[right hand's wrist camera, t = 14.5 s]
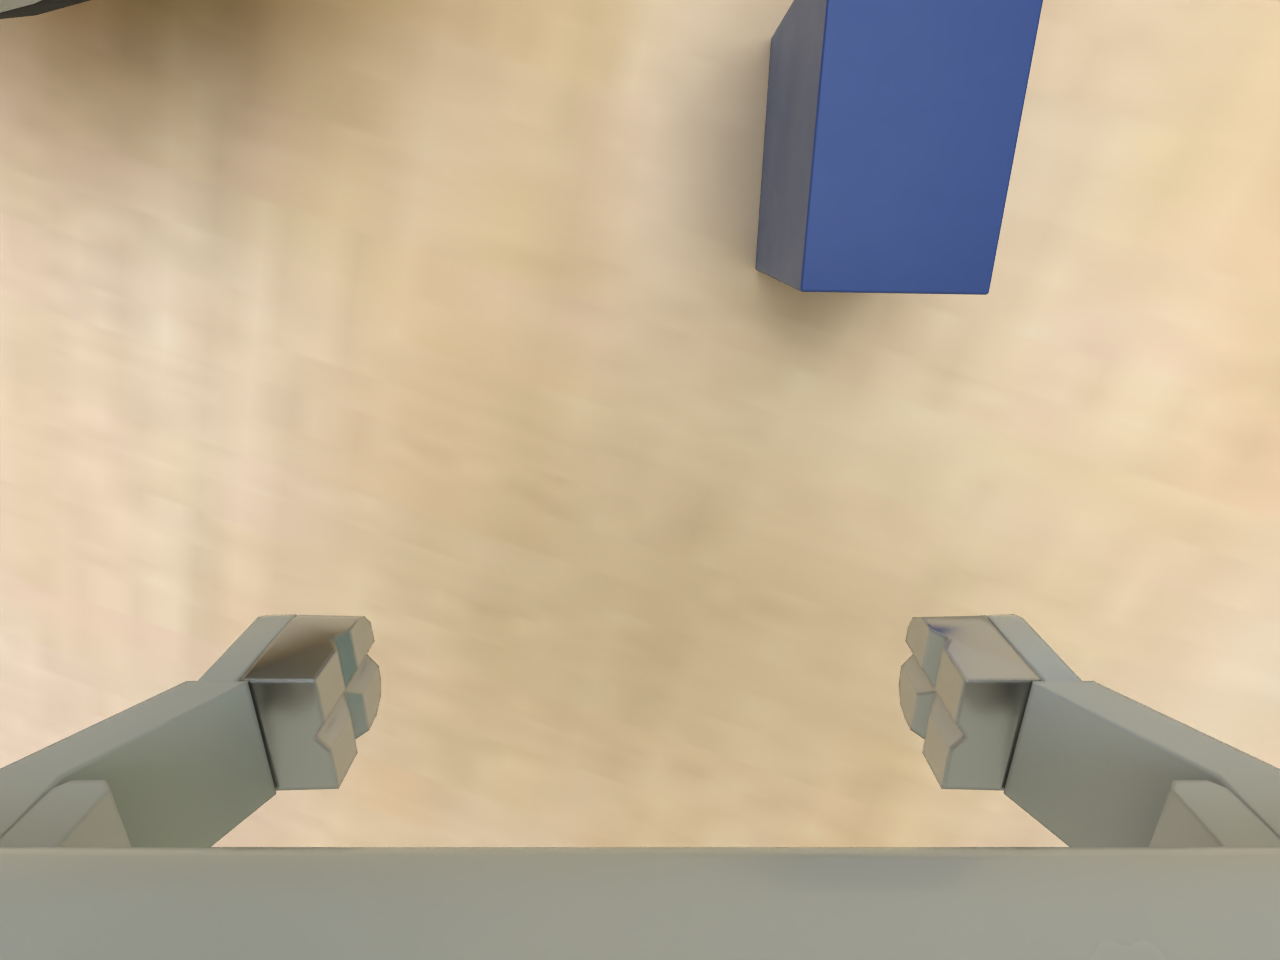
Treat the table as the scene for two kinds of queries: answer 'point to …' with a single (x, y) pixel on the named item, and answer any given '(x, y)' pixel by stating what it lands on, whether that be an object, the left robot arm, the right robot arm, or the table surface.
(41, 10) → the soccer ball
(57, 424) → the table surface
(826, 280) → the brick
